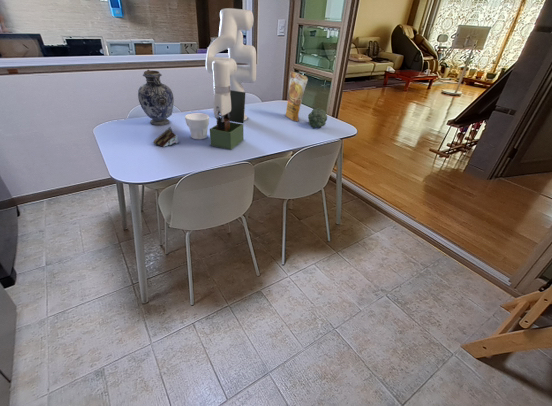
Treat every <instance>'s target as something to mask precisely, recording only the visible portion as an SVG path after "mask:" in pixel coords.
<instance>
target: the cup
mask: <svg viewBox="0 0 552 406" xmlns="http://www.w3.org/2000/svg"><path fill="white" fill-rule="evenodd" d="M184 120H185V124H186V126H187V127H188V130H189V132H190V137H191V139H193V140H204V139H207V137H208V128H209V124H210V114H209V115H208V114H207V113H202V112H194V113H193V112H192V113H188V114H186V115H185V116H184Z"/></svg>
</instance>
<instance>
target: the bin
mask: <svg viewBox="0 0 552 406" xmlns="http://www.w3.org/2000/svg"><path fill="white" fill-rule="evenodd" d="M209 139H210V146H211V147H214V148H215V147H216V148H221V149H225V150H230V151H231V150H233V149H234V148H236V147H237V146H238V145H239V144H241V143H242V142H243V141H244V123H237V122H232V121H230V129H229V130H227V131H220V130H217V124H216V125H214V126H212V127H211V128H209Z"/></svg>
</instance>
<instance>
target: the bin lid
mask: <svg viewBox="0 0 552 406" xmlns="http://www.w3.org/2000/svg"><path fill="white" fill-rule="evenodd" d="M230 96H231V112H230V118H229V119H230V122H233V123H238V124H245V120H244V109H245V110H246V108H245V107H246V92H239V91H233V90H230ZM223 118H225V117H223Z"/></svg>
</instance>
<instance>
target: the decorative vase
mask: <svg viewBox="0 0 552 406" xmlns="http://www.w3.org/2000/svg"><path fill="white" fill-rule="evenodd" d="M162 76H163V74H162V73H160V71H158V70H150V69H147V70H145V71H143V74H142V77H145V81H146V82H145V83H144V84H141V86H139V88H138V89H137V98H138V103H139V105H140V107H141V110H143V112H144V114H145V115H146V116H147V117H148V118H150V119H151V120H150V124H151V125H153V126H165V125H168V124H169V123H170V120H169V119H168V118H170V117H171V116H173V115H172V114H173V113H174V112H173V110H174V105H175V104H174V103H175V99H174V92H173V91H172V88H171V87H170V86H168V85H167V84H165V83H162V82H161V77H162Z"/></svg>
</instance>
